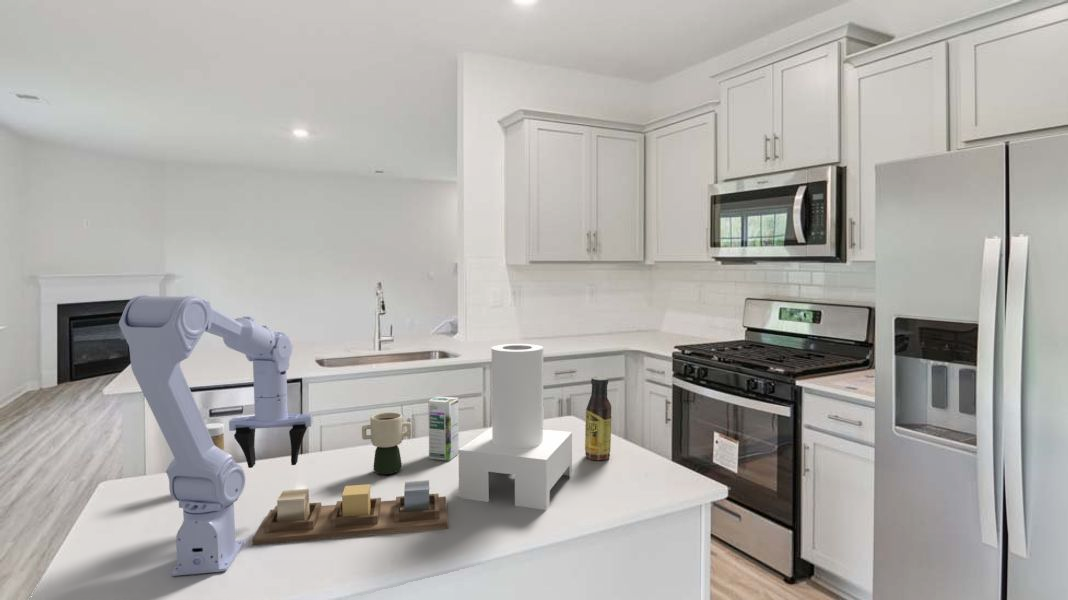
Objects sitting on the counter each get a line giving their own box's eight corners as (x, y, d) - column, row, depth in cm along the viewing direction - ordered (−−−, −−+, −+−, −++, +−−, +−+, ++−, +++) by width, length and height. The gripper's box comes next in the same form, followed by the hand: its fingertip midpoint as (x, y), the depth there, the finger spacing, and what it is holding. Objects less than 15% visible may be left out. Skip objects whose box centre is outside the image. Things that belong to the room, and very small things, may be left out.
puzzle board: (448, 528, 105) (447, 496, 105) (252, 545, 99) (251, 510, 99) (445, 501, 117) (445, 472, 117) (270, 514, 111) (269, 484, 111)
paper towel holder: (546, 510, 113) (546, 356, 111) (459, 497, 119) (457, 352, 117) (571, 476, 131) (572, 343, 129) (494, 466, 137) (493, 339, 135)
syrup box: (428, 459, 142) (427, 400, 141) (438, 451, 147) (438, 395, 146) (449, 461, 140) (448, 402, 139) (459, 453, 146) (459, 396, 145)
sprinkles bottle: (227, 487, 124) (225, 426, 123) (203, 492, 122) (200, 429, 121) (225, 481, 128) (222, 421, 127) (201, 485, 126) (198, 424, 125)
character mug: (411, 464, 138) (410, 410, 137) (412, 475, 131) (411, 418, 130) (363, 468, 136) (362, 413, 135) (362, 479, 129) (360, 422, 128)
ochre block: (368, 520, 106) (367, 493, 106) (342, 522, 106) (342, 495, 105) (370, 509, 111) (370, 484, 111) (345, 511, 110) (345, 486, 110)
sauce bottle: (580, 455, 144) (580, 376, 143) (601, 451, 147) (602, 373, 145) (593, 463, 138) (594, 381, 137) (616, 459, 141) (616, 378, 140)
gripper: (314, 388, 116) (316, 455, 117) (236, 391, 113) (239, 460, 114) (307, 396, 109) (310, 467, 110) (224, 400, 106) (227, 473, 107)
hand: (273, 464), depth 112 cm, fingers open, 7 cm apart
